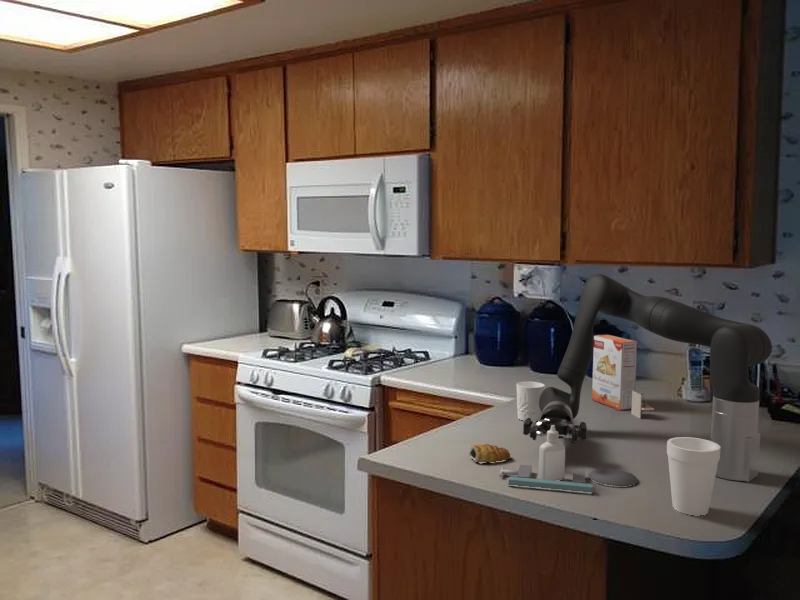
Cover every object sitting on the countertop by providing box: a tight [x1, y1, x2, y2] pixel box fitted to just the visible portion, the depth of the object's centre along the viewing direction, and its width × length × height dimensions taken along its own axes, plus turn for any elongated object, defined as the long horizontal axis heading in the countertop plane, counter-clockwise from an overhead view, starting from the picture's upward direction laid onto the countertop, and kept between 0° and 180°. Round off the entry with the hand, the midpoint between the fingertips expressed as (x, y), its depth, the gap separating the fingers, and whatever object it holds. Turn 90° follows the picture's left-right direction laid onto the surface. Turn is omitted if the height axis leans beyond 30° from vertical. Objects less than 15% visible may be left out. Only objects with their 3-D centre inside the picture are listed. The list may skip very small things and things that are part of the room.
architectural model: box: [630, 390, 655, 420], centre depth 210 cm, size 3×7×7 cm, turn 8°
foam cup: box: [666, 436, 721, 517], centre depth 140 cm, size 10×9×13 cm
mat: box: [588, 468, 638, 486], centre depth 157 cm, size 10×10×1 cm
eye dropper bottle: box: [537, 425, 566, 481], centre depth 156 cm, size 4×6×12 cm
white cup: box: [515, 381, 546, 422], centre depth 206 cm, size 8×8×10 cm
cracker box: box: [591, 334, 638, 411], centre depth 223 cm, size 14×6×21 cm, turn 21°
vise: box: [498, 464, 594, 494], centre depth 155 cm, size 19×10×2 cm, turn 76°
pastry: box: [468, 443, 511, 462], centre depth 170 cm, size 9×7×4 cm
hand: (553, 437), depth 162 cm, fingers open, 8 cm apart
